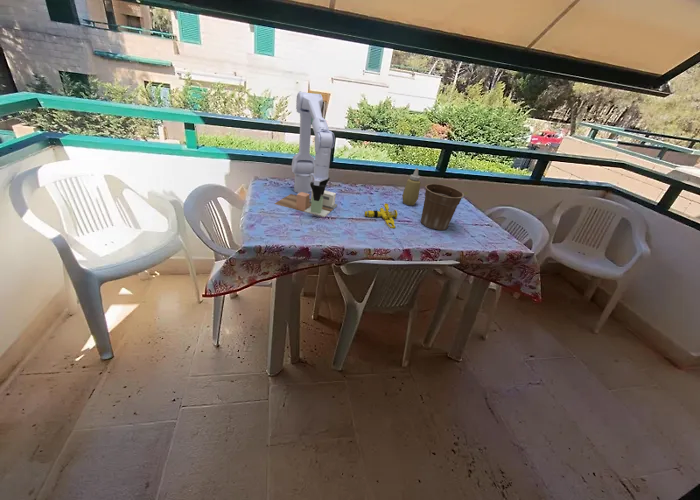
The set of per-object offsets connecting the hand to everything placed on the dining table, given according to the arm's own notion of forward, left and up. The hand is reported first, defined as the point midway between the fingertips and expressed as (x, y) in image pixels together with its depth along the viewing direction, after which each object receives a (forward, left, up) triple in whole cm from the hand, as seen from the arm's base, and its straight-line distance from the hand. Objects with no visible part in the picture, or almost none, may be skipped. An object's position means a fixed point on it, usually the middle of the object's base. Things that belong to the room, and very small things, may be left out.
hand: (318, 197), depth 133 cm
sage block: (0, 0, -6) cm, 6 cm away
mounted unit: (-9, -1, -8) cm, 12 cm away
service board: (-4, -7, -8) cm, 11 cm away
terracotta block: (0, -7, -7) cm, 10 cm away
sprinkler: (-13, +25, -8) cm, 30 cm away
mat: (0, 0, -6) cm, 6 cm away
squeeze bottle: (-41, +33, -8) cm, 53 cm away
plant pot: (-22, +48, -8) cm, 53 cm away
